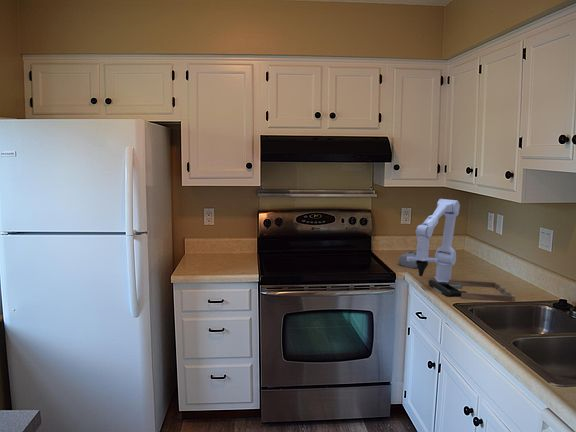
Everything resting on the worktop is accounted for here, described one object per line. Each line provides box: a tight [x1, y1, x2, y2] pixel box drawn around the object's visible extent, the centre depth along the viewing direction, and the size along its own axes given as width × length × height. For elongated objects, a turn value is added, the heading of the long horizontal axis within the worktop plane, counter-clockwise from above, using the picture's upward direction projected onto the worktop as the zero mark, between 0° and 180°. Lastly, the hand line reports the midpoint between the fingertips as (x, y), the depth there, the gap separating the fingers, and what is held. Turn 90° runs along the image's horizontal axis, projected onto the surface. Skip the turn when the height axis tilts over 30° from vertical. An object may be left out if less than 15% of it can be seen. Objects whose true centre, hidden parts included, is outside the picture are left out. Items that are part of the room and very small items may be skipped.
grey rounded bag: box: [398, 251, 418, 269], centre depth 271 cm, size 15×8×20 cm
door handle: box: [427, 279, 468, 297], centre depth 220 cm, size 3×20×16 cm
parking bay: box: [448, 279, 516, 302], centre depth 219 cm, size 23×24×2 cm
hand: (420, 275), depth 221 cm, fingers closed
